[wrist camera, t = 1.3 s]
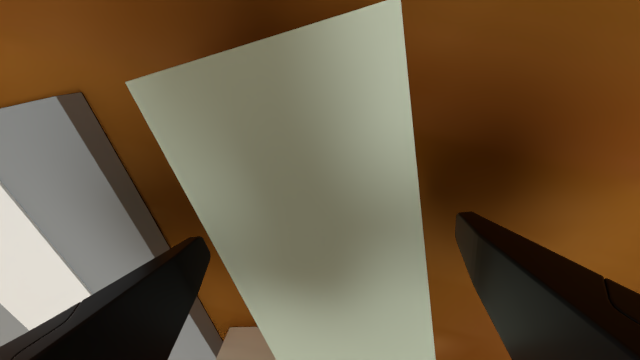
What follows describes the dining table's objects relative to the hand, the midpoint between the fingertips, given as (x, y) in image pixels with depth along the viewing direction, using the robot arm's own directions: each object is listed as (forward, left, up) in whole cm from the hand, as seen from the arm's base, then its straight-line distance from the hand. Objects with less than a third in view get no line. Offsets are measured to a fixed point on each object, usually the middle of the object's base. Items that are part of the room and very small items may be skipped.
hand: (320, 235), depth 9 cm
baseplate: (-3, +18, -3) cm, 18 cm away
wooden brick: (0, 0, -3) cm, 3 cm away
